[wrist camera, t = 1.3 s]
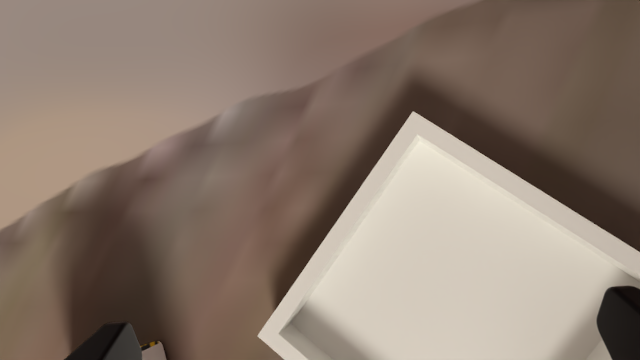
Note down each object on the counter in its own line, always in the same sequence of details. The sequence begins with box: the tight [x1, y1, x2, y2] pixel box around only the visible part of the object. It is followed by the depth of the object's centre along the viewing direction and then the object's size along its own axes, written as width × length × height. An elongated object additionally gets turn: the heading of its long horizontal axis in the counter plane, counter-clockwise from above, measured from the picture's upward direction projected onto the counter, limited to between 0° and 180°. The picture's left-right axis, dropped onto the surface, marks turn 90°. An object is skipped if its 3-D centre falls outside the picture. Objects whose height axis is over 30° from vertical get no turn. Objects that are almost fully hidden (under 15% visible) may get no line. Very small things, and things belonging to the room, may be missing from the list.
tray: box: [258, 111, 640, 360], centre depth 21 cm, size 14×14×2 cm
